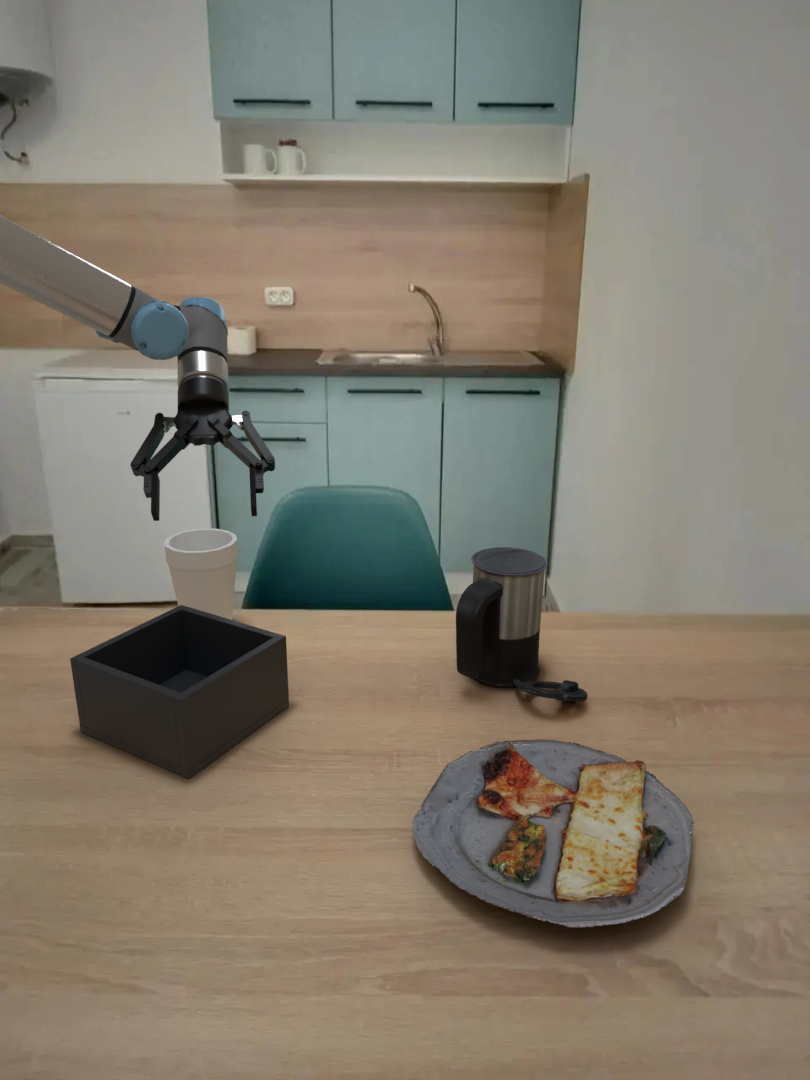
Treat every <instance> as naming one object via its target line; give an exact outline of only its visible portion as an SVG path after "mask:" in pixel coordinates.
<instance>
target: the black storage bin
mask: <svg viewBox="0 0 810 1080" xmlns="http://www.w3.org/2000/svg"><path fill="white" fill-rule="evenodd" d="M287 648H288V647H287V636H286V635H284V634H280V633H277V632H273V631H270V630H267V629H263V628H260V627H257V626H254V625H251V624H247V623H244V622H240V621H237V620H233V619H232V620H230V619H227V618H224V617H220V616H217V615H214V614H210V613H207V612H204V611H200V610H197V609H194V608H190V607H187V606H183V605H180V606H178V605H177V606H176V607H174V608H172V609H170V610H167V611H165V612H163V613H161V614H160V615H157V616H155V617H153V618H150V619H149V620H147V621H145V622H143V623H141V624H139V625H137V626H134V627H132V628H130V629H128V630H126V631H124V632H122V633H119V634H118V635H116V636H113V637H111V638H109V639H108V640H105V641H103V642H101V643H99V644H97V645H95V646H93V647H91V648H89V649H87V650H85V651H83V652H80V653H78V654H77V655H74V656H73V657H70V659H69V661H70V668H71V675H72V682H73V688H74V696H75V701H76V708H77V716H78V724H79V728H80V732H81V733H82V734H84V735H87V736H89V737H91V738H93V739H96V740H98V741H100V742H103V743H105V744H107V745H109V746H112V747H114V748H116V749H119V750H121V751H123V752H125V753H128V754H130V755H133V756H135V757H137V758H139V759H142V760H145V761H147V762H149V763H151V764H152V765H155V766H158V767H161V768H163V769H165V770H166V771H169V772H172V773H174V774H176V775H179V776H181V777H184V778H186V779H188V780H189V779H191V778H193V776H195V775H196V774H198V773H199V772H200V771H202V770H203V769H204V768H206V767H207V766H208V765H211V763H213V762H214V761H215V760H217V759H219V758H220V757H221V756H222V755H224V754H225V753H226V752H228V751H230V750H231V749H233V748H234V747H236V745H238V744H239V743H241V742H243V740H245V739H246V738H248V737H249V736H250V735H252V734H253V733H255V732H256V731H257V730H259V729H260V728H262V727H263V726H264V725H265V724H267V723H269V722H270V721H271V720H272V719H274V718H275V717H276V716H278V715H279V714H280V713H282V712H283V711H285V710H287V709H288V708H289V707H290V694H289V693H290V692H289V671H288V650H287Z"/></svg>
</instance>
